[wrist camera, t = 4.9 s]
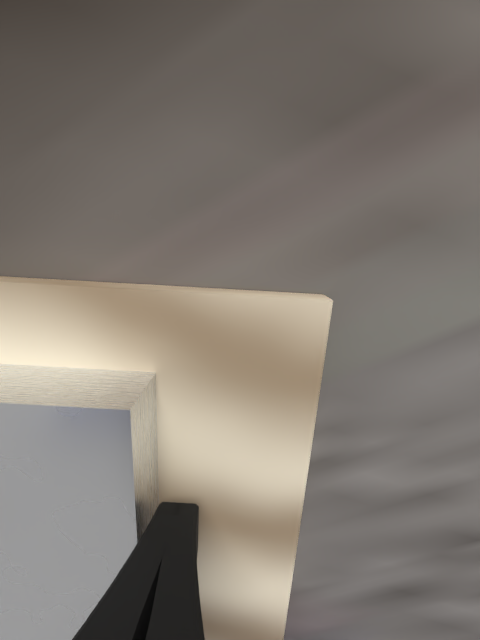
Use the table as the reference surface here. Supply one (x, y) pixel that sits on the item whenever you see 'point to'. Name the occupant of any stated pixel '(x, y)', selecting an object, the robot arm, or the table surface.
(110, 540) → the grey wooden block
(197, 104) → the table surface
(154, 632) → the robot arm
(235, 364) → the board
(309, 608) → the table surface
